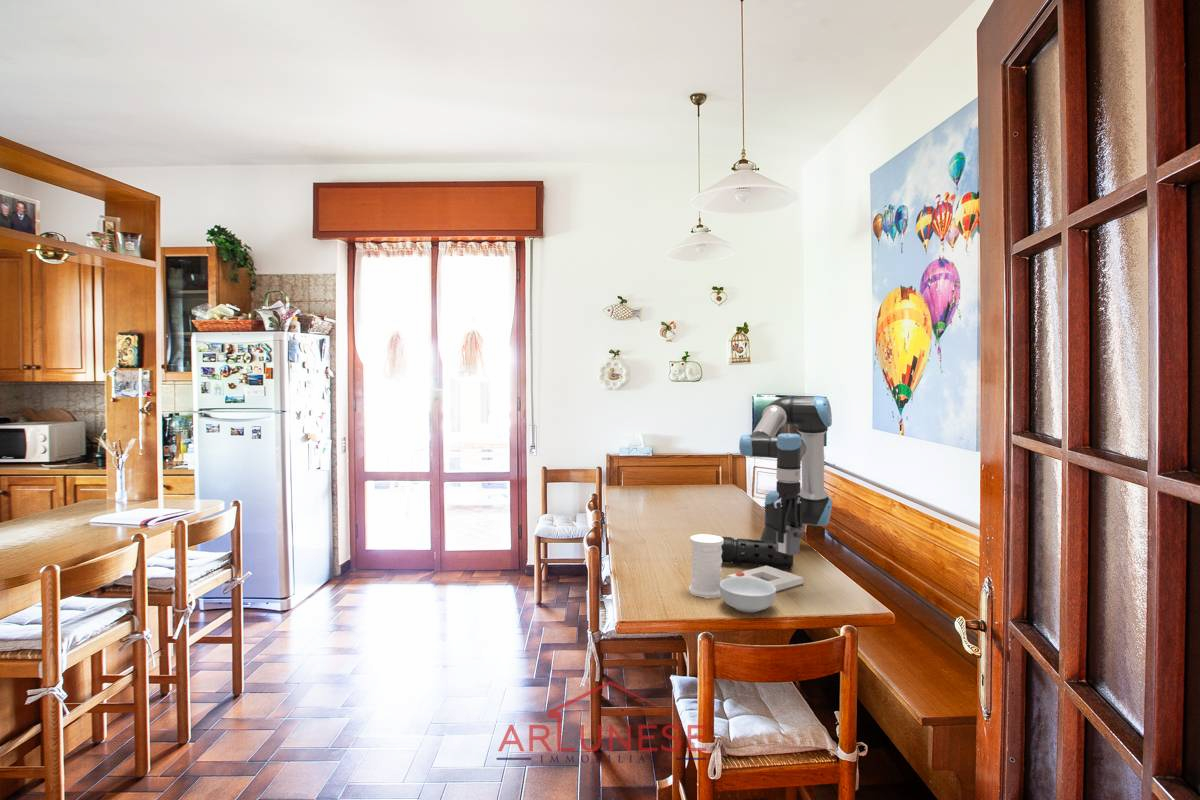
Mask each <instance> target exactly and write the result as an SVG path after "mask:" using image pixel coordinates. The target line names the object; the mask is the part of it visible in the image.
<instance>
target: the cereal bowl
mask: <svg viewBox="0 0 1200 800" xmlns="http://www.w3.org/2000/svg"><path fill="white" fill-rule="evenodd" d="M720 594H721V597H720V598H721V599H722V600H723V602H725V603H726V604H727V605H728V606H730V607H731V608H734V609H735V610H737V611H739V612H742V613H747V614H748V613H750V614H751V613H758V612H760V611H763V610H766V609H768V608H770V607H771V606H772V605H773V604H774V602H775V599H776V595H777V593H776V588H775V586H774V585H772V584H771V583H769V582H766V581H764V580H760V579H756V578H750V577H731V578H728V577H726V578H725V579H722V581H721V582H720Z"/></svg>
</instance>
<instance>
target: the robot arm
mask: <svg viewBox="0 0 1200 800" xmlns="http://www.w3.org/2000/svg"><path fill="white" fill-rule="evenodd" d="M832 423H833V421H832V409H831V404H830V401H829V400H828V398H826V397H822V396H793V395H791V396H783V397H780V398H778V399H776V400H773V401H771V402H770V403H769V404H768V405H766V407H765V408H764V409H763V411H762V414H761V419H760V421H759V422H758V423H757V425H756V427H755V428H754V430H753V431H752V433H751V434H743V435H741V437H740V438H739V453H740V454H741V456H744V457H750V458H752V457H753V458H771V459H776V480H777V481H776V489H775V490H772V491H770V492H767V494H766V495H765V499H764V528H763V531H762V532H761V533H762V534H761V537H760V539H759V540H768V541H776V532H778V552H782V553H787V533H785V529H786V526H790V527H794V528H798V529H800V531H801V528H803V525H807V526H809V525H810V526H815V527H818V526H820V527H826V526H828V525H829V522H830V518H831V513H832V506H833V498H832V497H829V492H828V491H827V490H826V489H825V451H824V450H825V444H824V443H825V441H824V439H825V438H824V437H825V436H824V435H825V434H826V433H827V432H828V431H829V427H832ZM783 426H796V431H797V432H798V433H799V434H798V433H790V432H789V433H786V432H785V433H779V434H778V435H777V433H778V431H779V430H780V428H782V427H783ZM776 435H777V436H776Z"/></svg>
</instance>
